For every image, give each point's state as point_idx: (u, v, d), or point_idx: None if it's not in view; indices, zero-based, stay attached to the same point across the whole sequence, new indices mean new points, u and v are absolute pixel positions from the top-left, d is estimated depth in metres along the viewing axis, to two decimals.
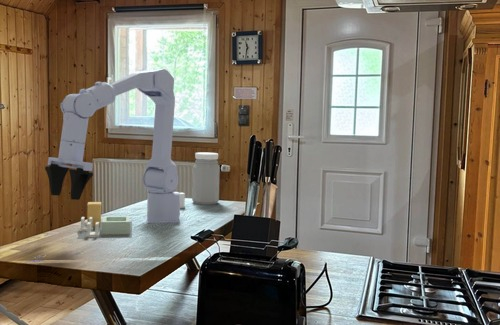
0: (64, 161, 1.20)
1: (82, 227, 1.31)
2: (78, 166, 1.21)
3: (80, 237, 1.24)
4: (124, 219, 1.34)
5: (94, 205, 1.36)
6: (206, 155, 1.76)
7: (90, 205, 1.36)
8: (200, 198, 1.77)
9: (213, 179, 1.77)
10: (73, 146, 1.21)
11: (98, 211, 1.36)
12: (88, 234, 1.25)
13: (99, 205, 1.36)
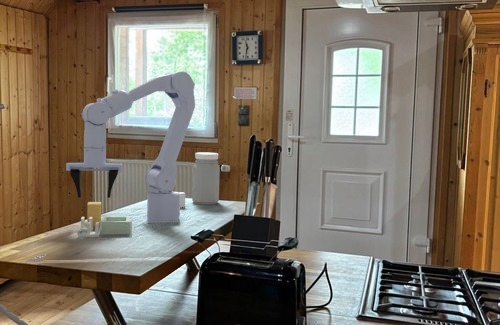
0: (99, 166, 1.34)
1: (82, 227, 1.31)
2: (108, 168, 1.37)
3: (80, 237, 1.24)
4: (124, 219, 1.34)
5: (94, 205, 1.36)
6: (206, 155, 1.76)
7: (90, 205, 1.36)
8: (200, 198, 1.77)
9: (213, 180, 1.77)
10: (103, 151, 1.35)
11: (98, 211, 1.36)
12: (88, 234, 1.25)
13: (99, 205, 1.36)
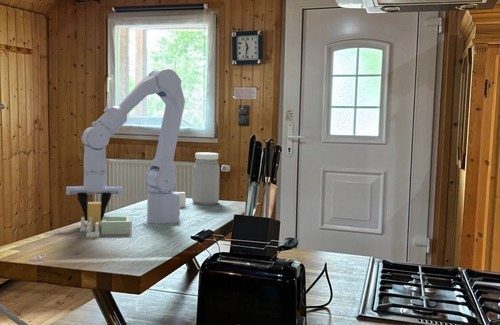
0: (99, 190, 1.35)
1: (82, 227, 1.31)
2: (108, 191, 1.38)
3: (80, 237, 1.24)
4: (124, 219, 1.34)
5: (94, 205, 1.36)
6: (206, 155, 1.76)
7: (90, 205, 1.36)
8: (200, 198, 1.77)
9: (213, 180, 1.77)
10: (103, 175, 1.36)
11: (98, 211, 1.36)
12: (88, 234, 1.25)
13: (99, 205, 1.36)
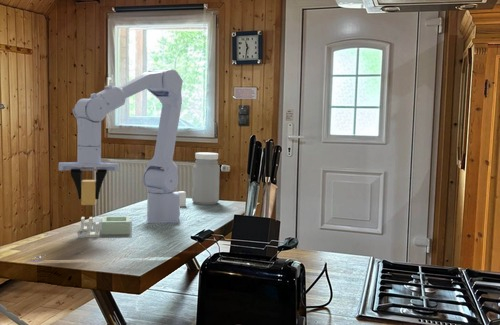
0: (94, 166, 1.26)
1: (82, 227, 1.31)
2: (103, 168, 1.29)
3: (80, 237, 1.24)
4: (124, 219, 1.34)
5: (88, 183, 1.27)
6: (206, 155, 1.76)
7: (84, 182, 1.27)
8: (200, 198, 1.77)
9: (213, 180, 1.77)
10: (98, 150, 1.27)
11: (93, 189, 1.28)
12: (88, 234, 1.25)
13: (94, 183, 1.28)
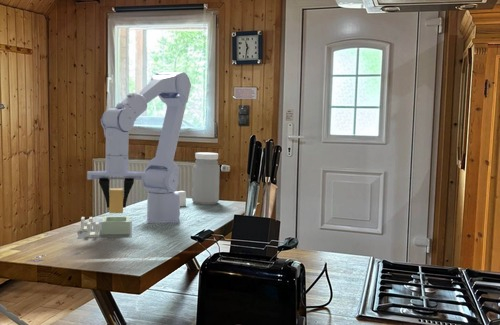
0: (122, 175, 1.28)
1: (82, 227, 1.31)
2: (131, 177, 1.31)
3: (80, 237, 1.24)
4: (124, 219, 1.34)
5: (116, 191, 1.29)
6: (206, 155, 1.76)
7: (112, 191, 1.29)
8: (200, 198, 1.77)
9: (213, 180, 1.77)
10: (126, 159, 1.29)
11: (120, 197, 1.30)
12: (88, 234, 1.25)
13: (122, 191, 1.30)
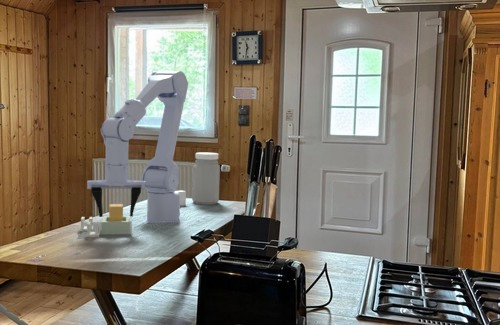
0: (122, 184, 1.28)
1: (82, 227, 1.31)
2: (131, 186, 1.31)
3: (80, 237, 1.24)
4: (124, 219, 1.34)
5: (116, 207, 1.30)
6: (206, 155, 1.76)
7: (112, 207, 1.30)
8: (200, 198, 1.77)
9: (213, 180, 1.77)
10: (126, 169, 1.29)
11: (120, 213, 1.30)
12: (88, 234, 1.25)
13: (121, 207, 1.30)
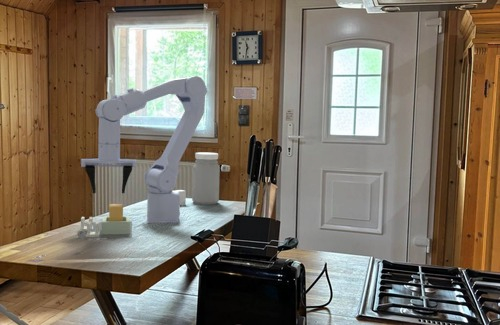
0: (114, 162, 1.35)
1: (82, 227, 1.31)
2: (122, 164, 1.38)
3: (80, 237, 1.24)
4: (124, 219, 1.34)
5: (116, 207, 1.30)
6: (206, 155, 1.76)
7: (112, 207, 1.30)
8: (200, 198, 1.77)
9: (213, 179, 1.77)
10: (118, 147, 1.37)
11: (120, 213, 1.30)
12: (88, 234, 1.25)
13: (121, 207, 1.30)
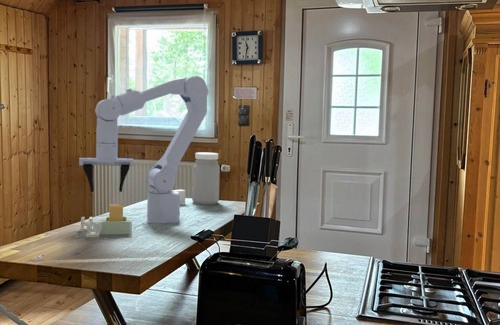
0: (111, 161, 1.38)
1: (82, 227, 1.31)
2: (120, 163, 1.41)
3: (80, 237, 1.24)
4: (124, 219, 1.34)
5: (116, 207, 1.30)
6: (206, 155, 1.76)
7: (112, 207, 1.30)
8: (200, 198, 1.77)
9: (213, 180, 1.77)
10: (115, 147, 1.39)
11: (120, 213, 1.30)
12: (88, 234, 1.25)
13: (121, 207, 1.30)
